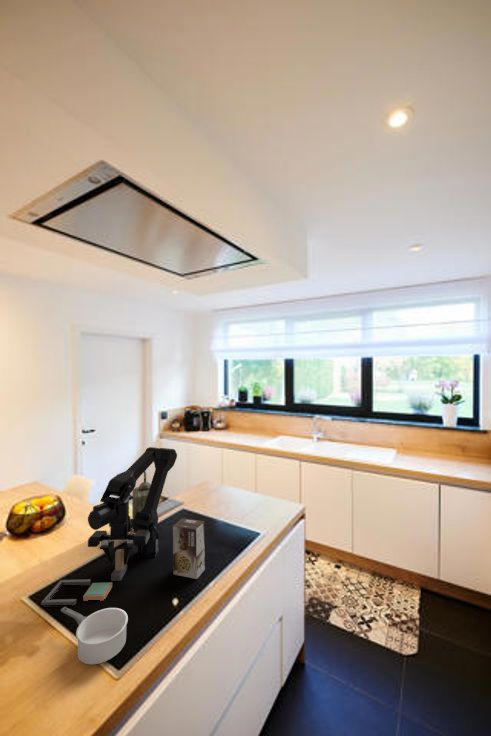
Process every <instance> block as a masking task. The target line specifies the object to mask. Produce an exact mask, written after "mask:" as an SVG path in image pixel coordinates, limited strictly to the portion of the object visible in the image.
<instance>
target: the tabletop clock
mask: <svg viewBox="0 0 491 736" xmlns="http://www.w3.org/2000/svg"><path fill="white" fill-rule="evenodd" d="M150 486H151V483H150V482H149V481H147V470H145V472H144V473H143V482H141V483H140V484H139V486H135V488H134V489H133V491H132V494H131V495H132V496H133V497H134V498H133V499H131V500H132V503H131V504H132V509H131V510H132V511H131V513H132V516H131V517H132V519H135V515H136V513H137V512H140V511H141V510H142V509H143V508H144V505H145V502H146V499H147V495H148V492H149V489H150Z"/></svg>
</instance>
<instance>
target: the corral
mask: <svg viewBox="0 0 491 736" xmlns="http://www.w3.org/2000/svg"><path fill="white" fill-rule="evenodd" d="M62 585H81V586H91V585H92V579H91V578H90V579H89V578H88V579H60V580H59V581H58V582H57V584H56V585H55V586H54V587H53V588H52V589H51V591H50V592H49V593H48V594H47V595H46V596H45V597H44V599H43V600H42V601H41V602H40V606H41V605H72V607H73V605H75V604H76V605H77V598H69V599H68V598H65V599H63V598H62V599H60V598H59V599H53V597H54V596H55V595H56V594H57V593H58V592H59V590H60V589H61V588H62V587H63V586H62ZM61 586H62V587H61ZM60 587H61V588H60ZM59 588H60V589H59ZM58 589H59V590H58ZM56 592H57V593H56ZM55 593H56V594H55ZM54 594H55V595H54ZM53 595H54V596H53ZM52 596H53V597H52ZM50 599H51V600H50ZM76 605H75V606H76Z"/></svg>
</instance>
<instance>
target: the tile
mask: <svg viewBox="0 0 491 736" xmlns="http://www.w3.org/2000/svg"><path fill="white" fill-rule="evenodd" d="M112 588H113V582H91V584H90V585H89V587H88V589H87V590H86V592H85V593H84V595H83V596H82V600H83V602H89V601H88V600H100V601H105V600H106V598H107V597H108V594H109V593H110V591H111V590H112ZM104 599H105V600H104Z"/></svg>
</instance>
